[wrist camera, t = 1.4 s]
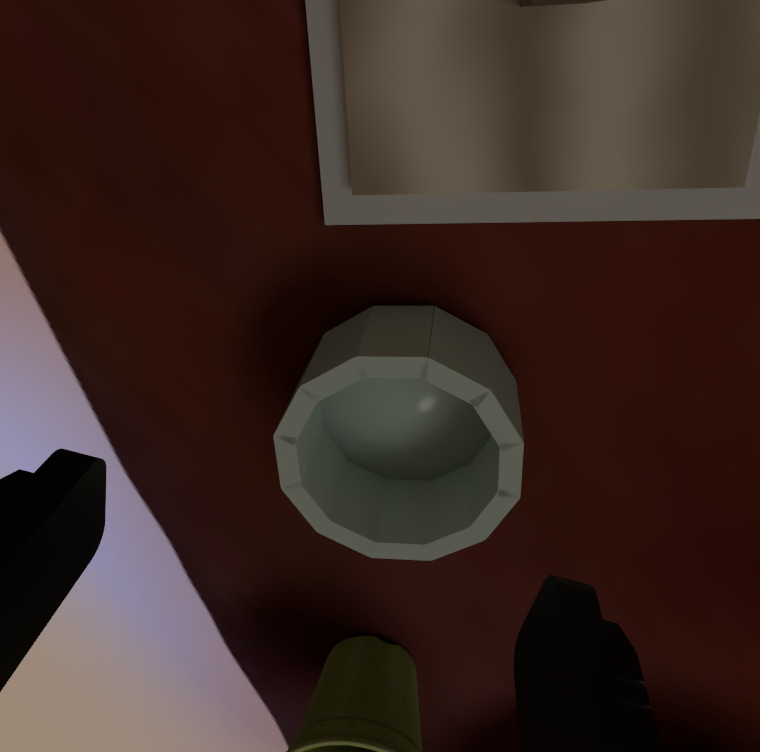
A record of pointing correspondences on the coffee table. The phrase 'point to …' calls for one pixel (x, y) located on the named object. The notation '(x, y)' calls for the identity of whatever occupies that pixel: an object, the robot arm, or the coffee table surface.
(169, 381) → the coffee table surface
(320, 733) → the plant pot
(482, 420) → the bowl
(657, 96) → the cover board
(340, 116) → the tray
